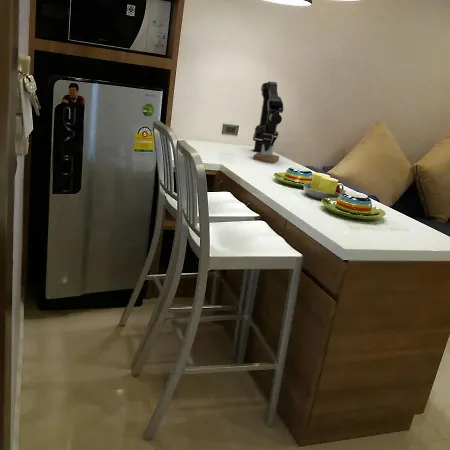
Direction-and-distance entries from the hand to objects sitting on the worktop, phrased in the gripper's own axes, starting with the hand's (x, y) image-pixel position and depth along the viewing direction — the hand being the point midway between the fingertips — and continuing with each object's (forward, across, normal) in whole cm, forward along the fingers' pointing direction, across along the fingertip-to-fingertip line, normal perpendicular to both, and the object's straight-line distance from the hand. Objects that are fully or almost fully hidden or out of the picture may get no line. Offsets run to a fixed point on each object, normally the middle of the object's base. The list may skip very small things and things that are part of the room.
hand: (267, 150), depth 286 cm
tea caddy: (+3, 0, 0) cm, 3 cm away
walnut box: (+6, 0, 0) cm, 6 cm away
